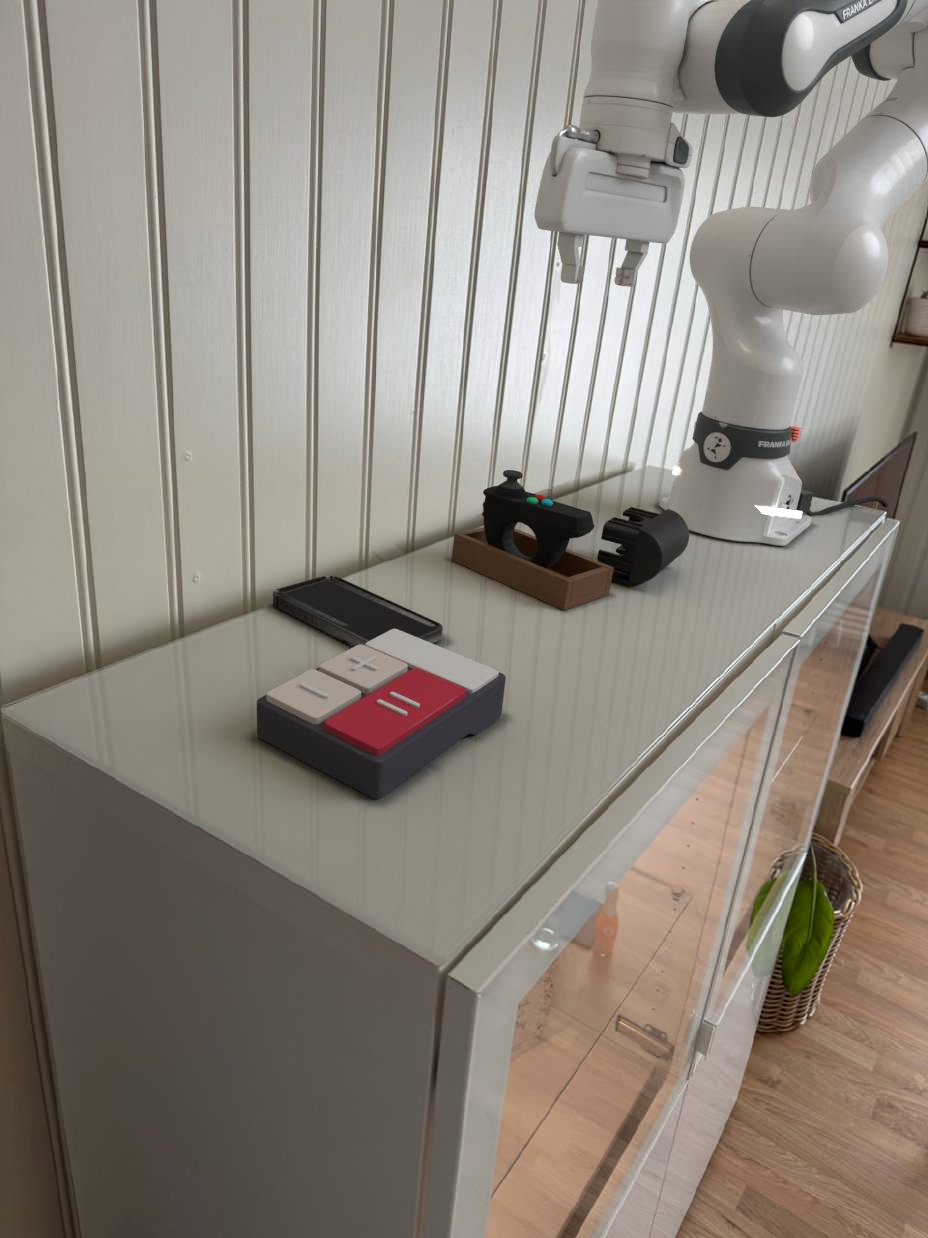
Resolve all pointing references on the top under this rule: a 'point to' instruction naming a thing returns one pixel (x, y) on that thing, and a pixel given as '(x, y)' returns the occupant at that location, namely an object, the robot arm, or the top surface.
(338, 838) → the top surface
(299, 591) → the phone
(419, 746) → the calculator
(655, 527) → the end cap
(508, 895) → the top surface
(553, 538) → the controller
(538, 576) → the holder
